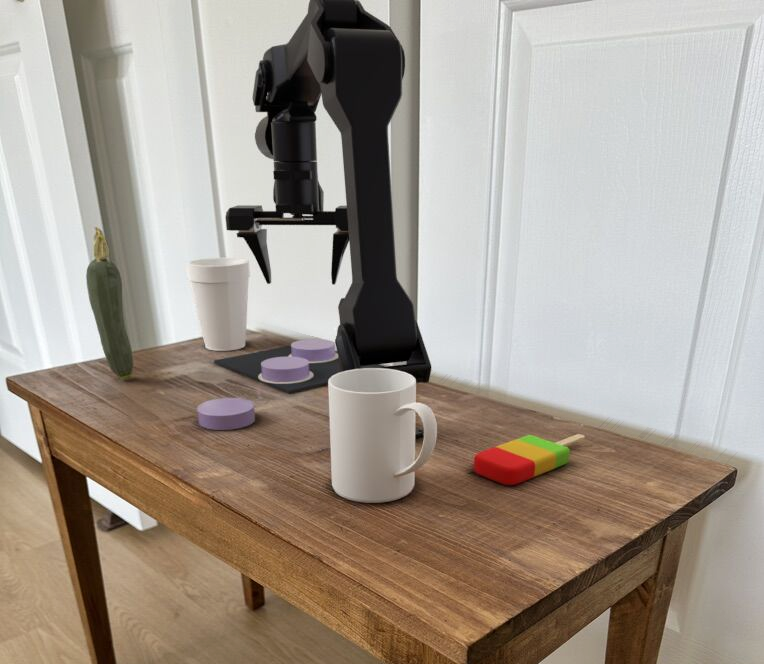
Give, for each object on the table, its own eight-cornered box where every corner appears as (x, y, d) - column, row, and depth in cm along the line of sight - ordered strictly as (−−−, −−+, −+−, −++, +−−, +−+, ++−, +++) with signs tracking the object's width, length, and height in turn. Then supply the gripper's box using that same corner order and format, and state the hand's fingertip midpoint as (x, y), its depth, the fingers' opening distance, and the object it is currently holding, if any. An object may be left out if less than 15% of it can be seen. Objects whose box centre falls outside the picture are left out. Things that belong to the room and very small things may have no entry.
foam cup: (236, 336, 128) (229, 255, 122) (266, 346, 122) (260, 262, 116) (185, 345, 123) (175, 261, 117) (213, 356, 116) (204, 268, 110)
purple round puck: (319, 376, 105) (318, 363, 104) (278, 385, 101) (277, 372, 100) (292, 366, 109) (291, 353, 108) (252, 374, 105) (251, 362, 105)
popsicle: (467, 471, 76) (468, 454, 75) (561, 436, 84) (562, 420, 84) (510, 489, 72) (511, 471, 71) (603, 450, 81) (605, 434, 80)
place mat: (388, 370, 109) (388, 366, 109) (287, 394, 99) (287, 390, 99) (307, 344, 123) (307, 341, 122) (212, 363, 113) (211, 360, 112)
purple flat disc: (266, 421, 89) (264, 407, 89) (216, 434, 86) (214, 419, 85) (237, 408, 94) (235, 394, 93) (188, 419, 90) (186, 405, 89)
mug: (315, 484, 73) (310, 378, 69) (380, 464, 78) (379, 363, 73) (395, 529, 65) (396, 412, 60) (462, 504, 69) (468, 393, 64)
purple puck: (344, 356, 114) (343, 344, 113) (308, 364, 110) (307, 351, 109) (318, 348, 118) (318, 336, 118) (282, 355, 115) (282, 343, 114)
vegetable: (130, 386, 102) (105, 229, 94) (99, 386, 103) (71, 229, 94) (140, 377, 106) (117, 225, 98) (110, 377, 107) (84, 225, 98)
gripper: (371, 159, 106) (373, 275, 113) (241, 160, 108) (250, 274, 114) (363, 162, 96) (365, 288, 103) (219, 162, 98) (230, 287, 105)
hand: (301, 283), depth 107 cm, fingers open, 9 cm apart
